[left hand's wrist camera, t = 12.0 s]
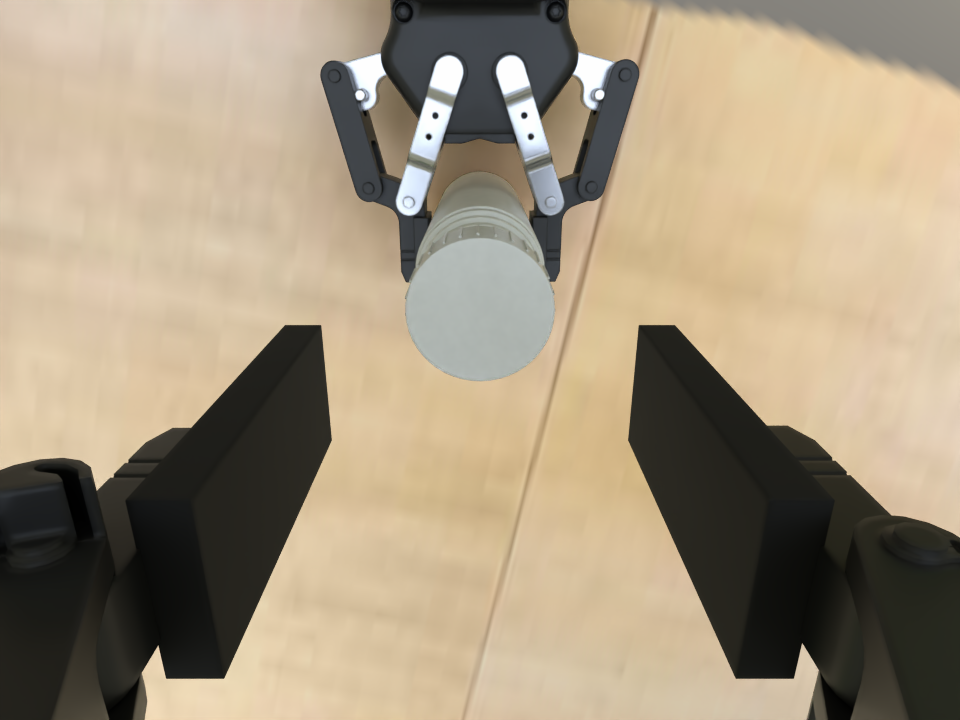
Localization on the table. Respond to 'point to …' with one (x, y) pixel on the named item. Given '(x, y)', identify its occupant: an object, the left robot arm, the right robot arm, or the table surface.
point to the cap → (480, 304)
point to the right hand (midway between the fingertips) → (480, 288)
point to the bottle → (480, 210)
